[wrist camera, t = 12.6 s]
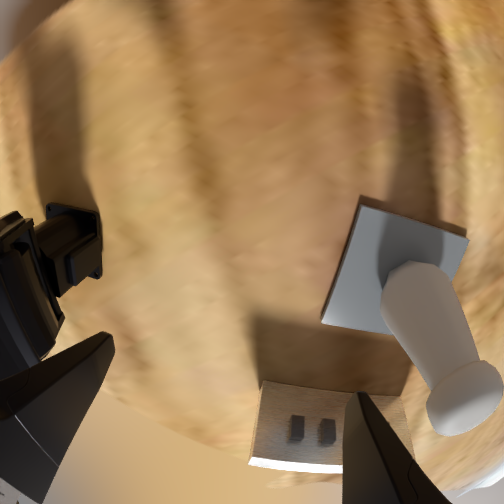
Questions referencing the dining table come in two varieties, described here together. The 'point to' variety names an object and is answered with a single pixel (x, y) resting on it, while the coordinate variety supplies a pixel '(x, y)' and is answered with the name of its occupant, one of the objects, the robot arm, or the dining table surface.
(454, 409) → the salt shaker
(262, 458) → the breaker panel
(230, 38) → the dining table surface
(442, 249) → the slate pad
